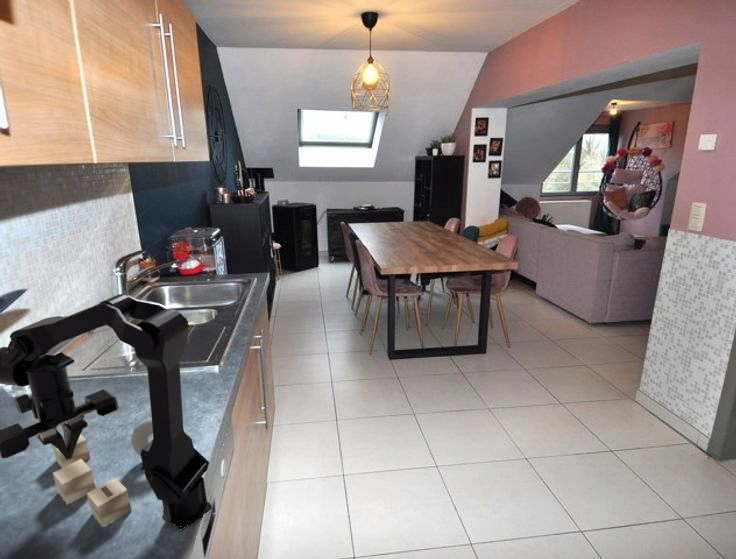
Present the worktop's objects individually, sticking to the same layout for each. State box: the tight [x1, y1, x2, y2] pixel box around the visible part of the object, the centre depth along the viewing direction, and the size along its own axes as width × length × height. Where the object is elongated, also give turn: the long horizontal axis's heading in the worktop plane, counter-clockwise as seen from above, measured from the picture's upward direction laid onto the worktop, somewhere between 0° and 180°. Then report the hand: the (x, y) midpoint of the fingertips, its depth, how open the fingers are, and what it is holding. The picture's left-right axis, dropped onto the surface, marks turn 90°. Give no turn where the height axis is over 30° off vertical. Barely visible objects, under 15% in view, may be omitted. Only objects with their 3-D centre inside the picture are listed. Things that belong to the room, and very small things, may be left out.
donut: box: [130, 417, 153, 457], centre depth 94 cm, size 10×3×10 cm, turn 105°
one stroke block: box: [86, 477, 133, 528], centre depth 80 cm, size 5×5×5 cm
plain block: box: [52, 459, 97, 506], centre depth 85 cm, size 5×5×5 cm
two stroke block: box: [51, 433, 91, 469], centre depth 94 cm, size 5×5×5 cm
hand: (68, 458), depth 83 cm, fingers closed
